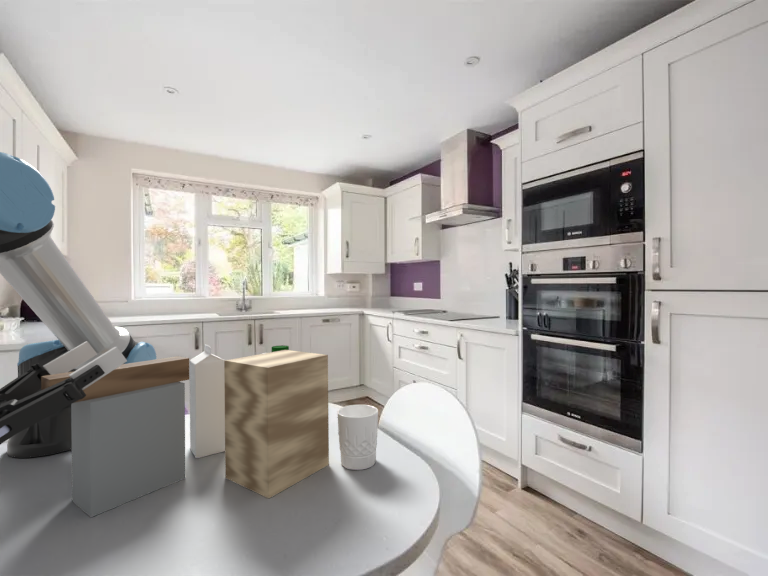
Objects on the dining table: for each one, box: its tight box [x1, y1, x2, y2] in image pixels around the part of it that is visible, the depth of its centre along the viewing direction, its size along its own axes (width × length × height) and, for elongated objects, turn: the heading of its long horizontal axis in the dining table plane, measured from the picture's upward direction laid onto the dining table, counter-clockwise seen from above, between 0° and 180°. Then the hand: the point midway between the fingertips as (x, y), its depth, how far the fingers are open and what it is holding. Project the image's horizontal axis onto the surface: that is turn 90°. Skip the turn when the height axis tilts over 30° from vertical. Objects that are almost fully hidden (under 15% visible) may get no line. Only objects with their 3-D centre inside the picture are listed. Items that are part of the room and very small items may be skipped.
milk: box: [189, 343, 225, 459], centre depth 79 cm, size 6×6×22 cm
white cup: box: [336, 404, 379, 471], centre depth 73 cm, size 8×8×10 cm
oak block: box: [223, 349, 330, 499], centre depth 70 cm, size 12×14×21 cm
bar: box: [41, 355, 190, 403], centre depth 63 cm, size 4×20×4 cm, turn 145°
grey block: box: [71, 381, 186, 518], centre depth 64 cm, size 8×14×17 cm, turn 145°
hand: (105, 350), depth 61 cm, fingers open, 11 cm apart
